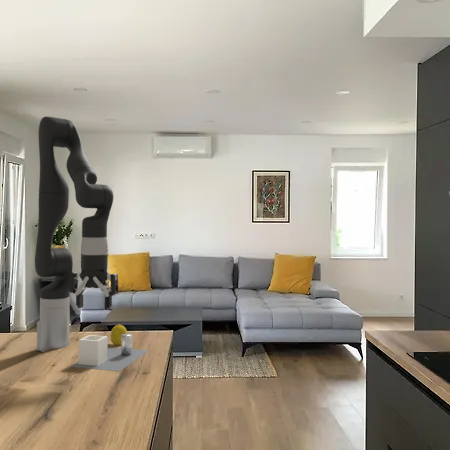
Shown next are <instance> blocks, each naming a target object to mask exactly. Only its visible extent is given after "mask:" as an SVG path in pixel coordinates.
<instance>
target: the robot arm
mask: <svg viewBox="0 0 450 450" xmlns="http://www.w3.org/2000/svg"><path fill="white" fill-rule="evenodd" d="M54 147H55V148H61V149H63V148H65V149H68V151H69V152H70V153H69V155H68V156H67V159H66V171H67V173H68V176H69V177H70V179H71V180H72V183H73V185H74V186H73V187H74V194H75V195H74V196H75V201H76V203H77V204H78V205H79V206H80V207H81V208H83V209H96V211H95V212H94V215H91V216H90V215H89V216H86V217H84V218H83V219H82V222H81V223H82V224H81V243H80V270H81V271H80V272H78V271H73V265H74V264H73V254H72V253H71V251H70V249H68V248H65V247H55V248H54V247H53V246H52V244H53V240H54V239H53V238H54V235H55V232H56V231H57V228H58V227H59V225H60V224H61V222H62V221H63V219H64V217H65V216H66V214H67V212H68V209H69V202H70V200H69V199H70V188H69V185H68V182H67V181H66V179H65V176H64V174H63V173H62V172H61V170H60V168H59V166H58V164H57V162H56V157H55V151H54ZM38 151H39V153H38V156H39V180H38V182H39V185H38V217H37V219H38V222H37V223H38V224H37V226H38V227H37V237H36V244H35V254H34V269H35V273H36V274H37V276H38V277H39V278H52V277H54V280H53V281H52V282H51V283H49V284H48V285H45V286H44V287H42V288H41V289H40V291H39V320H37V321H36V351H39V352H41V353H44V352H47V351H49V350H57V349H63V348H67V347H69V346H70V324H71V323H70V316H71V315H70V312H71V311H70V310H71V309H70V306H71V305H70V304H71V302H70V301H71V297H70V296H71V294H74V295H75V306H76V307H77V309H82V308H83V307H84V292H85V291H86V290H87V289H92V288H93V289H99V290H100V291H102V292H103V294H104V296H105V297H104V311H105V310H106V311H108V310H110V309H111V308H112V306H113V296H115V295H117V294H119V290H120V289H119V275H118V273H108V267H109V266H108V264H109V263H108V259H109V257H108V252H109V249H108V248H109V247H108V220H109V218H110V213H111V210H112V207H113V202H114V193H113V190H112V188H111V187H110V186H109V185H107V184H98V183H97V181H98V177H97V173H96V172H95V170H94V168H93V166H92V165H91V163H90V160H88V157H87V154H86V152H85V149H84V145H83V142H82V139H81V136H80V133H79V130H78V128H77V126H76V125H75V123H74V122H73V120H70V119H66V118H60V117H54V116H43V117H42V118H41V119H40V121H39V126H38ZM79 279H81V283H80V284H79ZM108 280H109V282H110V284H108V282H107V281H108Z"/></svg>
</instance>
